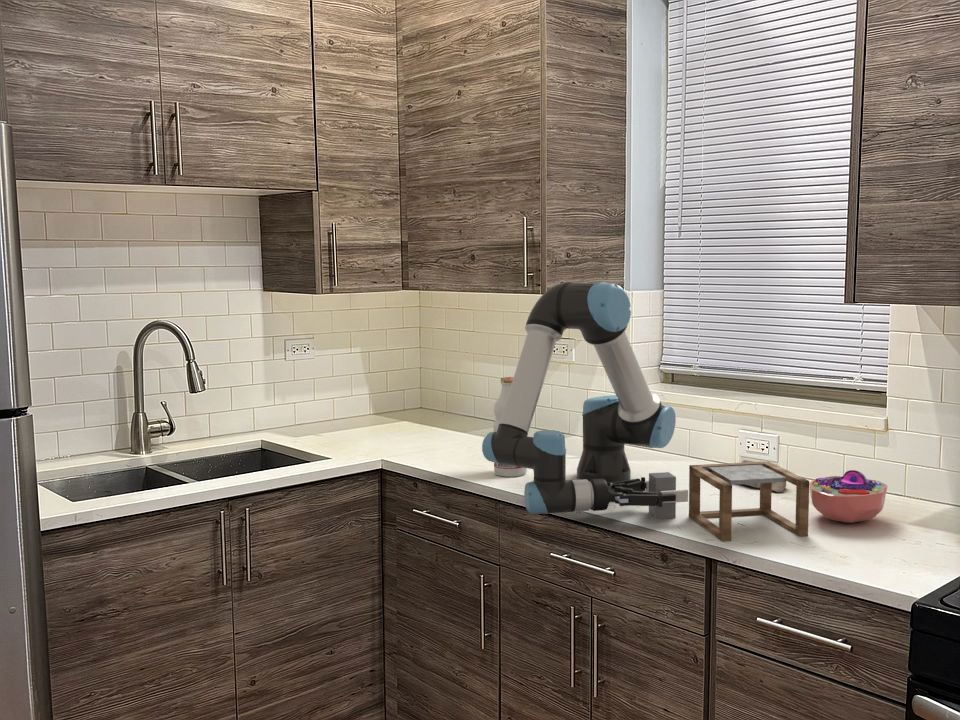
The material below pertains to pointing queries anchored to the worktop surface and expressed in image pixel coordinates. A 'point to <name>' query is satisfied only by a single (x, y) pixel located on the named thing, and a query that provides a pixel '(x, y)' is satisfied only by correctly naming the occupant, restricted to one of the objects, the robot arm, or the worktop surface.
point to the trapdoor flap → (746, 474)
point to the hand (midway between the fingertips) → (679, 490)
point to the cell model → (848, 497)
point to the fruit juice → (498, 410)
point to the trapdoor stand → (726, 509)
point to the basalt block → (658, 484)
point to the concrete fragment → (775, 486)
